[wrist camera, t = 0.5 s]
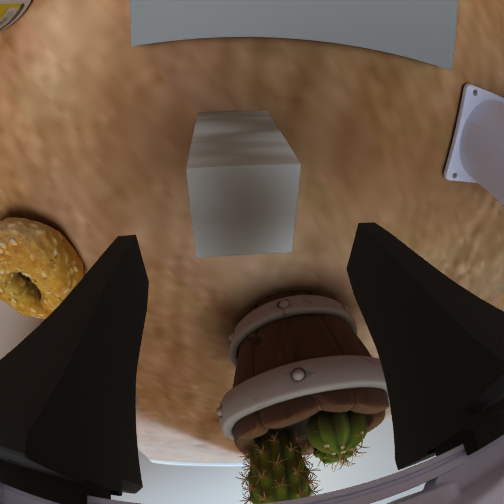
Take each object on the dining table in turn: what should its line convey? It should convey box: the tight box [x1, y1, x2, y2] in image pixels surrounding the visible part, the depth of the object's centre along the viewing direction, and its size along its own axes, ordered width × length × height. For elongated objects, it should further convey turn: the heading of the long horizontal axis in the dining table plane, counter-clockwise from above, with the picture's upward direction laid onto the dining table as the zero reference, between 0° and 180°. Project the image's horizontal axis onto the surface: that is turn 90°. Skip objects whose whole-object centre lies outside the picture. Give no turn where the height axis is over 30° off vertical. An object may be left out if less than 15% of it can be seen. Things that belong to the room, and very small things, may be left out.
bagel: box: [0, 217, 84, 319], centre depth 20 cm, size 10×11×5 cm
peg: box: [186, 111, 301, 258], centre depth 15 cm, size 4×4×8 cm
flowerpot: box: [216, 291, 390, 504], centre depth 22 cm, size 14×15×20 cm
